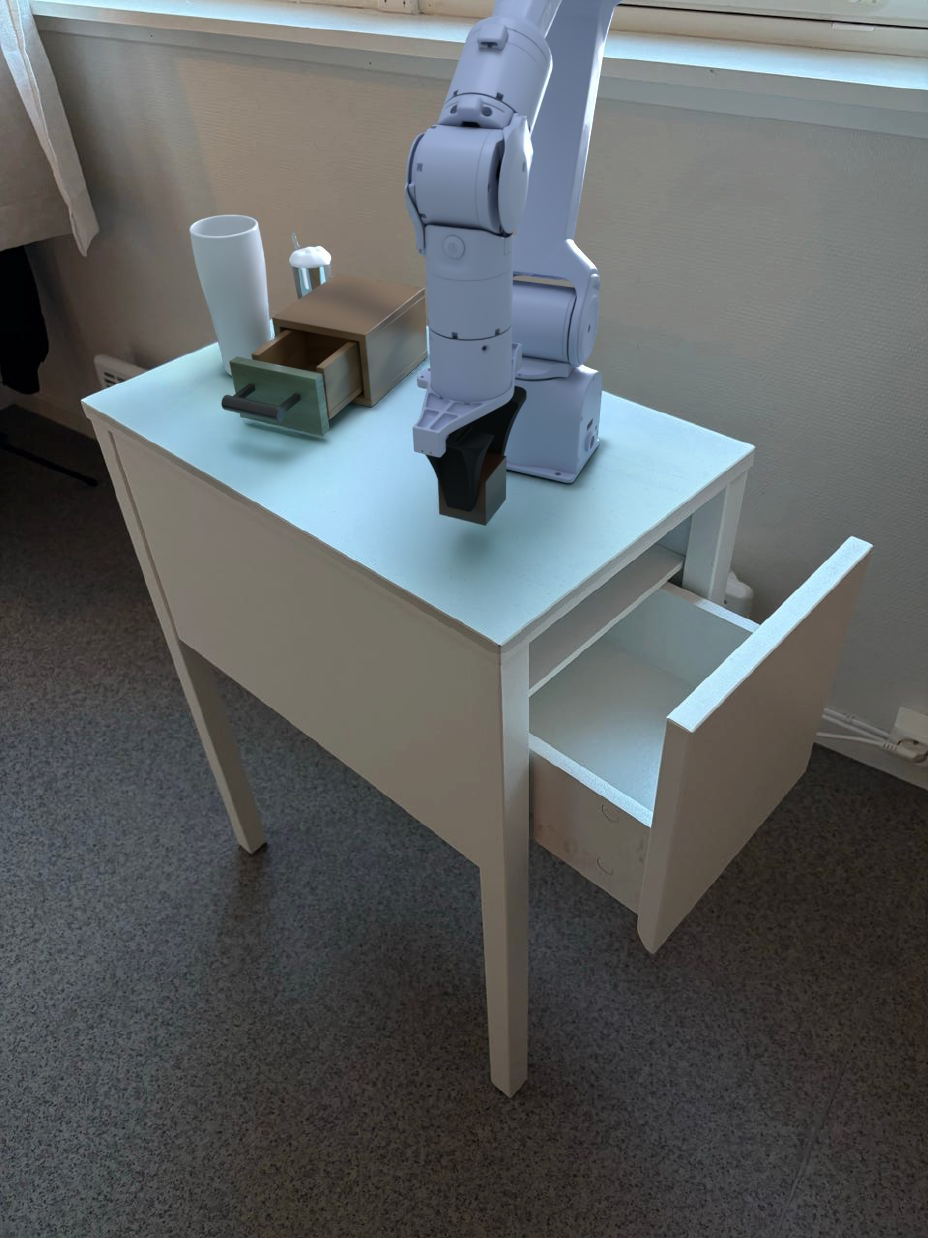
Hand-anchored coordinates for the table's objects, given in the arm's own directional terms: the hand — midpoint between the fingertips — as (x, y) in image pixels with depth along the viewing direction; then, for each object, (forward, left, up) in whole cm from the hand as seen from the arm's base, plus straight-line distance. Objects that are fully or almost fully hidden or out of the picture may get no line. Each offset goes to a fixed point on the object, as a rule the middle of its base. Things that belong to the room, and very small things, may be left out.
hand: (472, 491), depth 71 cm
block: (0, 0, -1) cm, 1 cm away
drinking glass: (+35, -19, -5) cm, 40 cm away
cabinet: (+24, -23, -5) cm, 34 cm away
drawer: (+24, -12, -4) cm, 27 cm away
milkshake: (+34, -31, -5) cm, 46 cm away
